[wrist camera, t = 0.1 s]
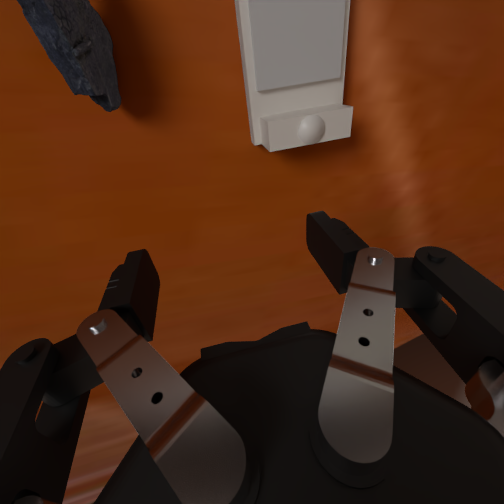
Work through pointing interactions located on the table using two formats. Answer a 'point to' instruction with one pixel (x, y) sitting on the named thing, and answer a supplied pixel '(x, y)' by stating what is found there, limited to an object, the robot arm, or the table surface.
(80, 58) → the stone
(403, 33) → the table surface
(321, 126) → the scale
